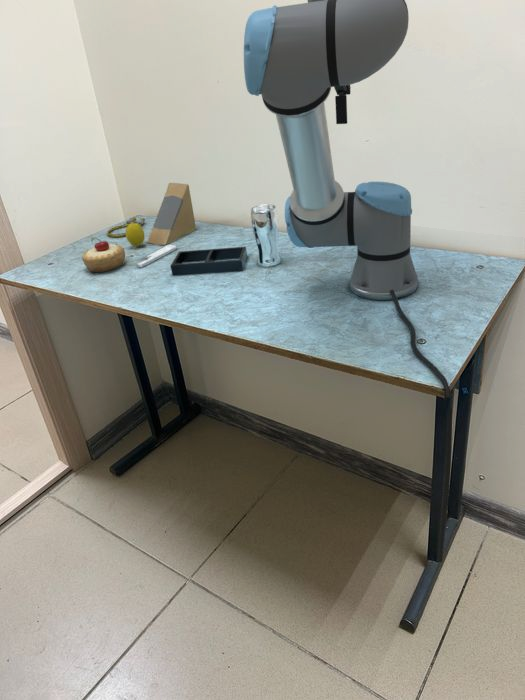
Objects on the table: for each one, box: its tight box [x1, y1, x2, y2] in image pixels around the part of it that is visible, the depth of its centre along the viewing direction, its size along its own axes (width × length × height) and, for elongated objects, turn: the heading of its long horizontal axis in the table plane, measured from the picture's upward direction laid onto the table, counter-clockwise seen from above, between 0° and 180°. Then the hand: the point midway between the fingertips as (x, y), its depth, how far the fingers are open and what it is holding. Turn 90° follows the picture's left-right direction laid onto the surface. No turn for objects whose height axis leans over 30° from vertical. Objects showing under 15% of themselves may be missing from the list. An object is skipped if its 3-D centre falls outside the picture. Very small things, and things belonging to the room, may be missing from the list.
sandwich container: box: [146, 182, 197, 246], centre depth 172 cm, size 9×15×15 cm, turn 145°
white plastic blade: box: [136, 244, 178, 268], centre depth 161 cm, size 5×15×1 cm, turn 145°
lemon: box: [125, 222, 145, 248], centre depth 168 cm, size 6×6×8 cm
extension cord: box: [106, 216, 146, 238], centre depth 186 cm, size 12×16×2 cm
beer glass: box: [250, 203, 282, 268], centre depth 143 cm, size 7×7×15 cm
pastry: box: [81, 237, 126, 273], centre depth 156 cm, size 12×12×9 cm
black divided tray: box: [170, 246, 248, 277], centre depth 149 cm, size 10×19×3 cm, turn 85°
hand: (330, 129), depth 133 cm, fingers open, 13 cm apart
